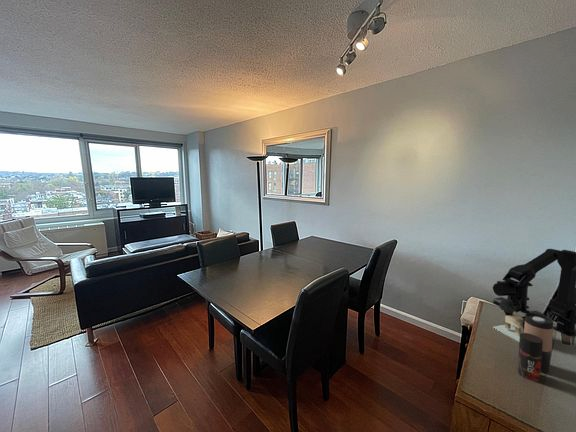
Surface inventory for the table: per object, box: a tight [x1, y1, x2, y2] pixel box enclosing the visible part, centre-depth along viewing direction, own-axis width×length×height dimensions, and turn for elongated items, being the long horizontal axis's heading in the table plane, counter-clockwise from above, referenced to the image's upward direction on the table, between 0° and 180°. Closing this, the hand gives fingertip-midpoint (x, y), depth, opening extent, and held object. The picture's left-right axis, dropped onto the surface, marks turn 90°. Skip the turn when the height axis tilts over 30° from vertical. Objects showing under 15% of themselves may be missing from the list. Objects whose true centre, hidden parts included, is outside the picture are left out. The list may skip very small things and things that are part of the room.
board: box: [492, 324, 524, 343], centre depth 113 cm, size 12×12×1 cm
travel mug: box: [524, 313, 554, 373], centre depth 91 cm, size 8×8×20 cm
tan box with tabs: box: [504, 313, 524, 334], centre depth 112 cm, size 6×6×6 cm
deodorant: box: [517, 333, 543, 382], centre depth 87 cm, size 6×6×15 cm
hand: (516, 325), depth 113 cm, fingers closed on tan box with tabs, 6 cm apart
